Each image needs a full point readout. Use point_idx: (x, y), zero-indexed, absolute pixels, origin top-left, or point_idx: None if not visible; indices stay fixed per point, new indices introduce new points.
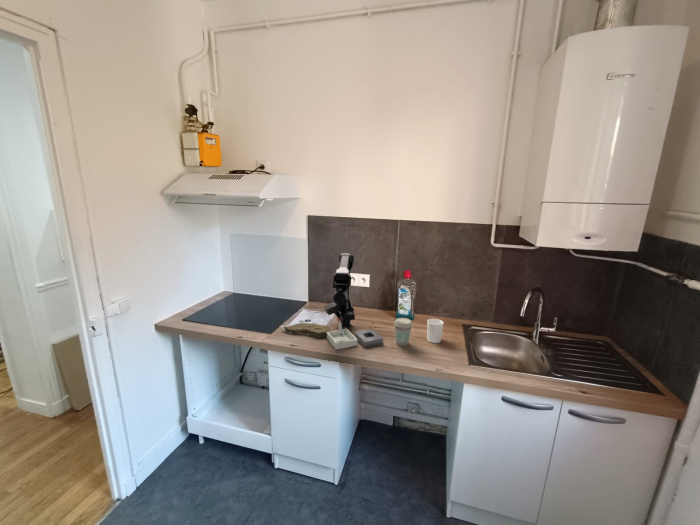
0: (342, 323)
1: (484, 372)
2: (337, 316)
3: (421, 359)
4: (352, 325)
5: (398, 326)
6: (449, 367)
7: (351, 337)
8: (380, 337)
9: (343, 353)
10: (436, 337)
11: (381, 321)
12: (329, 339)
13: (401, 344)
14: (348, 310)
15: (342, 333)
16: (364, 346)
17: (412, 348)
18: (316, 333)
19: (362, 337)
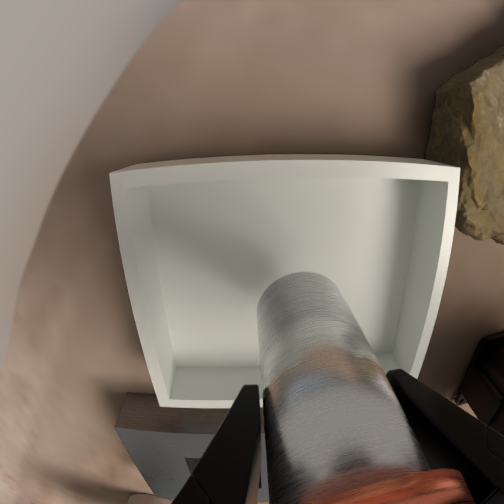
0: (184, 490)
1: (11, 496)
2: (498, 490)
3: (36, 474)
4: (460, 404)
5: None
6: (12, 480)
7: None
8: (169, 495)
9: (59, 216)
10: None
11: None
12: (346, 156)
13: (128, 501)
14: None
15: (260, 336)
16: (131, 397)
17: (110, 501)
18: (480, 67)
19: (194, 442)
